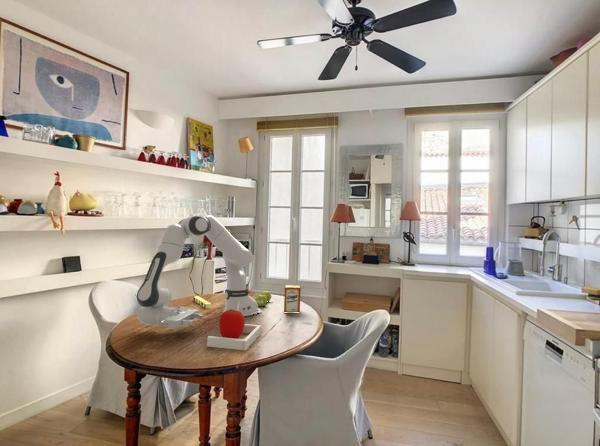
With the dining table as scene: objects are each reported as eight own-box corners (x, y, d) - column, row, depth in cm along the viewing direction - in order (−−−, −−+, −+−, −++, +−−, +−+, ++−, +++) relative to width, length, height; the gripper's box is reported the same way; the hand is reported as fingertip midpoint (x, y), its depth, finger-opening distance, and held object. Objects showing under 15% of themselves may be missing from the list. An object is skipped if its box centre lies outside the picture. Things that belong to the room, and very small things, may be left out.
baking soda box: (299, 310, 206) (300, 285, 206) (299, 313, 199) (300, 287, 199) (284, 310, 205) (285, 284, 205) (283, 313, 199) (284, 286, 199)
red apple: (216, 336, 155) (217, 306, 155) (239, 333, 160) (240, 304, 160) (222, 346, 144) (223, 313, 144) (247, 342, 149) (248, 311, 149)
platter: (213, 298, 233) (213, 293, 233) (233, 308, 208) (233, 303, 208) (166, 303, 214) (166, 298, 214) (181, 315, 189) (181, 309, 189)
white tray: (207, 346, 143) (207, 337, 143) (227, 330, 164) (227, 322, 164) (245, 350, 140) (246, 341, 140) (261, 333, 161) (261, 325, 161)
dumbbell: (266, 307, 211) (266, 296, 211) (254, 306, 212) (254, 295, 212) (271, 301, 228) (272, 291, 228) (260, 300, 229) (261, 290, 229)
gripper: (158, 316, 147) (186, 319, 145) (182, 305, 167) (207, 307, 165) (157, 330, 147) (186, 333, 145) (181, 317, 167) (207, 320, 165)
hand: (197, 319), depth 155 cm, fingers open, 8 cm apart
